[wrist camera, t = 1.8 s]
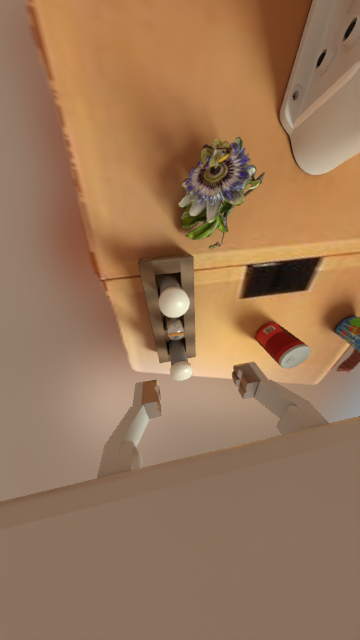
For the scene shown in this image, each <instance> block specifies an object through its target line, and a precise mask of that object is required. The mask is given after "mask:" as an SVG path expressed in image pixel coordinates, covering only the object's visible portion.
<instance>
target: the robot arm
mask: <svg viewBox="0 0 360 640" xmlns="http://www.w3.org/2000/svg"><path fill="white" fill-rule="evenodd" d="M293 95H294V97H295V99H294V100H293ZM280 121H281V124H282V126H283V127H284V129H285V130H286V132H287V133H288V134H289V136H290V140H291V144H292V150H293V154H294V157H295V160H296V162H297V164H298V165H299V167H300V168H301V169H302V170H303V171H305V172H306V173H308V174H312V175H320V174H324V173H327V172H329V171H331V170H333V169H334V168H336V167H337V166H339V165H340V164H342V163H343V162H345V161H346V160H348V159H349V158H351V157H353V156H355V155H356V154H358V153H360V0H313V1H312V4H311V8H310V11H309V15H308V18H307V21H306V25H305V28H304V32H303V35H302V38H301V42H300V45H299V49H298V52H297V55H296V59H295V62H294V65H293V69H292V72H291V76H290V79H289V82H288V86H287V89H286V93H285V96H284V99H283V103H282V106H281V110H280ZM233 369H234V371H233V372H232V378H233V381H234V383H235V385H236V386H238V387H239V389H238V391H239V393H240V394H241V396H242V398H243V399H245V398H251V397H254V398H255V399H256V400H258V401H259V402H260V403H261V404H262V405H264V406H265V407H266V408H267V409H269V410H270V411H271V412H272V413H274V414H275V415H276V416H277V417H278V418H280V420H279V422H278V423H277V428H278V430H279V431H280V433H281V435H278V436H274V437H270V438H266V439H261V440H257V441H253V442H249V443H245V444H241V445H236V446H232V447H228V448H223V449H220V450H215V451H211V452H207V453H202V454H198V455H194V456H190V457H186V458H182V459H177V460H173V461H169V462H165V463H160V464H156V465H152V466H148V467H143V468H142V456H141V455H140V453H139V452H138V450H137V448H136V447H137V444H138V442H139V440H140V438H141V436H142V434H143V431H144V430H145V427H146V425H147V423H148V421H149V419H150V418H154V417H158V416H161V404H160V399H161V397H160V389H159V386H158V381H157V380H152V381H146V382H139V383H136V385H135V391H134V400H133V407H130V409H129V410H128V412H127V413H126V414H125V416H124V418H123V419H122V421H121V422H120V423H119V425H118V426H117V428H116V429H115V431H114V432H113V434H112V435H111V437H110V438H109V440H108V441H107V442H106V444H105V446H104V450H103V454H102V458H101V462H100V467H99V471H98V475H97V479H93V480H88V481H84V482H80V483H76V484H72V485H68V486H63V487H59V488H55V489H51V490H46V491H42V492H38V493H34V494H30V495H26V496H21V497H17V498H13V499H9V500H4V501H0V640H360V416H359V417H355V418H350V419H346V420H342V421H337V422H333V423H328V422H327V421H326V420H325V419H324V417H323V416H321V414H320V413H319V412H318V411H317V410H316V409H315V408H314V407H313V405H311V403H310V402H309V401H307V400H305V399H304V398H302V397H300V396H298V395H297V394H295V393H293V392H291V391H289V390H288V389H286V388H284V387H283V386H281V385H279V384H277V383H276V382H274V381H272V380H268V379H267V377H266V376H265V375H264V373H263V372H262V371H261V370H260V368H259V367H258V366H257V365H256V363H255V362H249V363H243V364H238V365H234V367H233Z"/></svg>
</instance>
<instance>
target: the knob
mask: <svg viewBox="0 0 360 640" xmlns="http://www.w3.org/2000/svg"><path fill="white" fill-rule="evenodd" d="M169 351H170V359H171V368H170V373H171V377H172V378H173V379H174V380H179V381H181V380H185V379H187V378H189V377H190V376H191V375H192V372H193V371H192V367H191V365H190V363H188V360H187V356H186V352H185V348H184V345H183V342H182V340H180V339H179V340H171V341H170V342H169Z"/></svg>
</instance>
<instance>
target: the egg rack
mask: <svg viewBox="0 0 360 640" xmlns="http://www.w3.org/2000/svg"><path fill="white" fill-rule="evenodd" d="M138 264H139V269H140V274H141V278H142V283H143V288H144V292H145V297H146V301H147V306H148V311H149V315H150V320H151V325H152V329H153V334H154V338H155V343H156V348H157V352H158V357H159V362H160V363H163V362H169V361H171V359H170V351H169V345H167V344H166V340H172V339H170V338H169V336H168V330H167V323H166V321H165V322H163V320H162V313H161V310H160V308H159V297H160V295H161V294H160V292H159V293H158V289H157V283H156V277H155V275H159V274H168V273H177V272H178V276H179V285H180V287H181V289H183V290H184V291H185V292H186V294H187V296H188V298H189V301H190V305H189V308H188V310H187V311H186V313H185V314H183V315H182V319H180V320H181V323H182V326H183V330H184V336H183V337H182V338H183V340H184V342H183V345H184V348H185V352H186V356H187V358H192V357H196V355H195V310H194V266H193V256H192V255H190V254H181V255H171V256H162V257H152V258H142V259H139V261H138Z"/></svg>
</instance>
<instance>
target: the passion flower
mask: <svg viewBox="0 0 360 640" xmlns="http://www.w3.org/2000/svg"><path fill="white" fill-rule="evenodd" d="M242 147H243V145H242V140H241V138H240V137H238V138H236V139H235V141H234V142H233V143H232V144H231V145H230V144H229V143H228V142H227V141H220V139H219V138H216V139H215V140H214V141H213V142H212V143H211V145H210V146H208V145H204V146H203V150H202V152H201V161H200V162H198V167H196V168H194V167H193V169H191V170H190V174H189V179H185V180H187V181H183V182H184V183H183V184H182V187H183V189H184V191H185V192H186V193H187V194H186V196H184V198H183V199H182V200H181V201H180V202H179V204H178V206H179V207H182V208H186V210H185V211H184V212H183V213H182V216H181V219H182V224H183V226H182V228H184V229H190V228H191V227H193V226H195V225H197V224H198V222H200V221H201V222H205V223H203V224H202V225H201V226H199V227H198V228H196V229H195V230H194V231H192V232H189V233H188V234H187V235H186V236H185V237H189V238H191V239H193V240H196V239H204V238H206V237H209V236H210V235H211V234H212V233H213V232H214V231H215V229H216V228H217V227H218V229H219V230H220V231H222V232H223V237H222V242H223V238H224V233H225V232H228V227H227V224H226V222H227V216H228V214H229V213H230V211H231V210H232V209H233V207H234V206H238V205H241V204H242V203H244V197H245V196H247V195H248V194H249V193H250V192H251V191H253V190H254V189H255V188H256V187H257V186H258V185H259V184H261V183H262V179H263V176H264V172H263V174H261V175H260V176H259V177H258V178H257V179H256V180H255V179H254V175H255V173H256V171H257V170H256V167H255V166H254V165H248V163H249V162H250V159H248V155H249V153H248V154H247V155H244V151H245V148H244V149H243V150H242ZM241 150H242V152H241ZM207 156H208V157H207ZM248 184H251V187H248V189H250V190H249V191H248V192H247V193H245V194H244V193H243V192H244V190H245V188H246V186H247V185H248ZM222 200H224V203H223V202H222ZM221 203H222V205H221ZM223 213H224V215H223V217H222V214H223ZM224 218H225V219H224ZM222 242H221V245H222ZM221 245H219V242H217V243H216V244H214V245H211V246H209V249H212V248H215V247H217V246H219V247H220V246H221Z"/></svg>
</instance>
